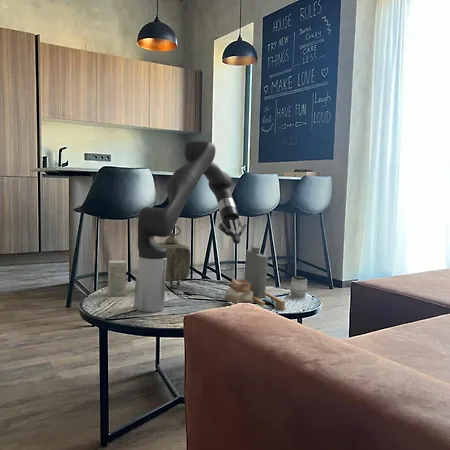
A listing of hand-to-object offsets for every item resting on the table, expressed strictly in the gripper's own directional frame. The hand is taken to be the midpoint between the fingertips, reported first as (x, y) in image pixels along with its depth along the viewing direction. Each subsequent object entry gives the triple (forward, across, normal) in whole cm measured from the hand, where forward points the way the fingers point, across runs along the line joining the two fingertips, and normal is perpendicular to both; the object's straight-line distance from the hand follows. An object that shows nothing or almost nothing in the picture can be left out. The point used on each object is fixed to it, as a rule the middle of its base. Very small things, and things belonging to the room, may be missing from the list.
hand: (237, 242), depth 185 cm
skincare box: (+17, -49, +10) cm, 53 cm away
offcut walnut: (+30, -8, -2) cm, 31 cm away
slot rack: (+26, +1, +1) cm, 26 cm away
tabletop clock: (+12, -27, +16) cm, 33 cm away
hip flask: (+24, +1, +3) cm, 25 cm away
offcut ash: (+28, -8, -5) cm, 30 cm away
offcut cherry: (+26, -8, -7) cm, 28 cm away
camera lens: (+24, +22, +4) cm, 33 cm away
